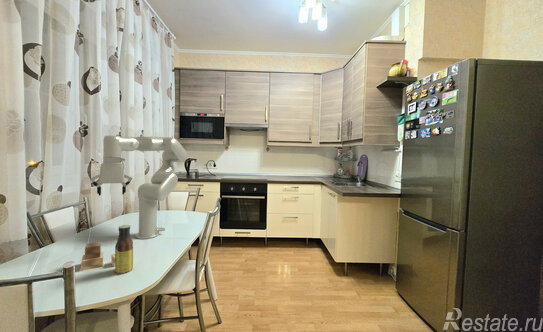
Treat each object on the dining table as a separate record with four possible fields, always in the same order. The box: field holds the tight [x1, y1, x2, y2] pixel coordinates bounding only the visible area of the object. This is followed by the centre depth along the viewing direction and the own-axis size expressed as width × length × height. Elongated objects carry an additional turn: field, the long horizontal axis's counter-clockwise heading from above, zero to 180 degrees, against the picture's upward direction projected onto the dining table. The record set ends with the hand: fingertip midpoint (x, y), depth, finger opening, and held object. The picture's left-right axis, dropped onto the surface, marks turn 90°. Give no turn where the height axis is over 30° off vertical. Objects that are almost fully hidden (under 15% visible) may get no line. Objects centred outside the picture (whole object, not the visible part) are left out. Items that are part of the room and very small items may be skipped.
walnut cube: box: [84, 241, 102, 260], centre depth 98 cm, size 5×5×5 cm
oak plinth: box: [80, 251, 104, 272], centre depth 98 cm, size 7×7×4 cm
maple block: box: [110, 253, 115, 268], centre depth 101 cm, size 4×4×4 cm
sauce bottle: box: [114, 224, 134, 275], centre depth 95 cm, size 6×6×20 cm
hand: (111, 194), depth 115 cm, fingers open, 9 cm apart
